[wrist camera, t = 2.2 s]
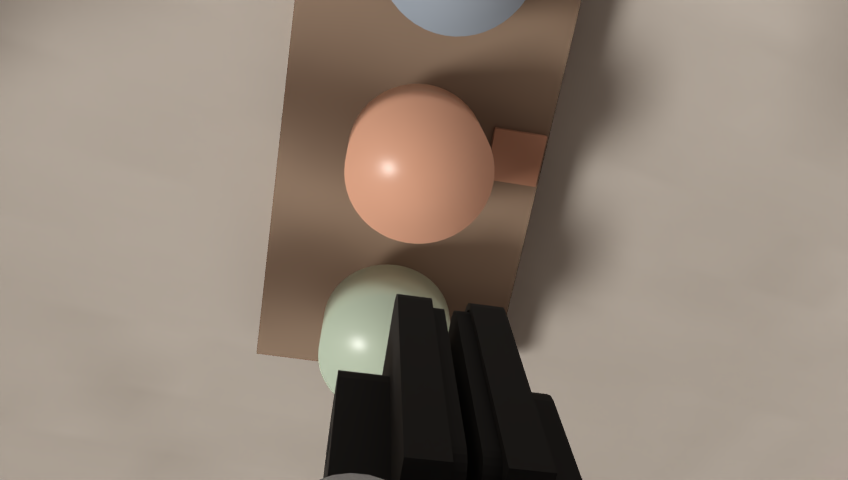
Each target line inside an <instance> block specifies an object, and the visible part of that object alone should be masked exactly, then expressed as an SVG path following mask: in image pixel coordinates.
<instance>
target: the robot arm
mask: <svg viewBox="0 0 848 480" xmlns="http://www.w3.org/2000/svg"><path fill="white" fill-rule="evenodd" d="M320 480H582V478H581V475H580V473H579V470H578V467H577V464H576V462H575V459H574V456H573V453H572V451H571V448H570V445H569V442H568V439H567V437H566V434H565V431H564V428H563V426H562V423H561V420H560V417H559V415H558V412H557V409H556V406H555V404H554V401H553V399H552V397H551V396H550V395H548V394H541V393H532V392H531V390H530V386H529V383H528V380H527V377H526V374H525V371H524V368H523V365H522V362H521V358H520V355H519V352H518V349H517V346H516V343H515V340H514V337H513V333H512V330H511V327H510V324H509V321H508V318H507V315H506V312H505V309H504V307H497V306H489V305H481V304H473V303H468V304H467V306H466V309H465V312H464V311H456V310H454V312H453V314H452V317H451V322H450V327H449V332H448V328H447V322H446V316H445V310H444V309H440V308H433V302H432V298H426V297H418V296H411V295H403V294H396V298H395V302H394V307H393V313H392V319H391V325H390V331H389V337H388V343H387V349H386V355H385V361H384V367H383V373H382V375H377V374H369V373H360V372H351V371H343V370H338V374H337V380H336V387H335V394H334V401H333V408H332V415H331V422H330V429H329V437H328V444H327V452H326V460H325V468H324V477H323V479H320Z"/></svg>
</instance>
